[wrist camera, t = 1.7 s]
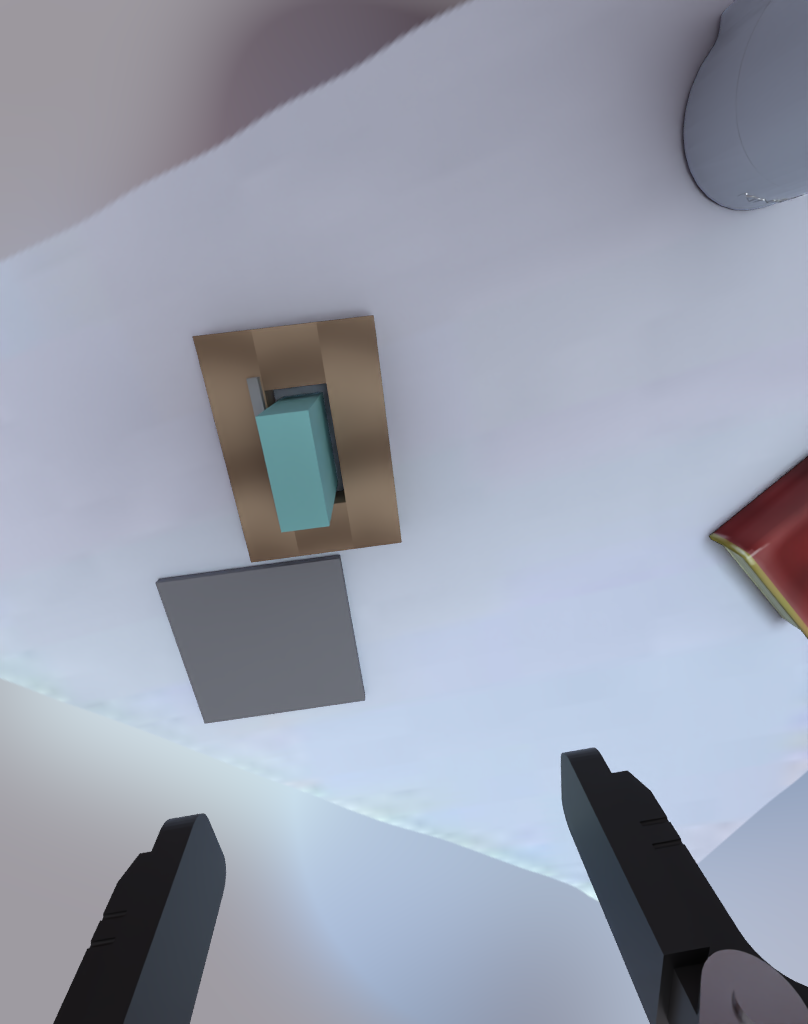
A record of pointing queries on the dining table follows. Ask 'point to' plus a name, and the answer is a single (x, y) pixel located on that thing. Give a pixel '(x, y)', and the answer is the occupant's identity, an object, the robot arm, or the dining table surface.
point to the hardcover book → (775, 544)
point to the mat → (265, 638)
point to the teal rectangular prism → (299, 460)
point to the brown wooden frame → (356, 419)
